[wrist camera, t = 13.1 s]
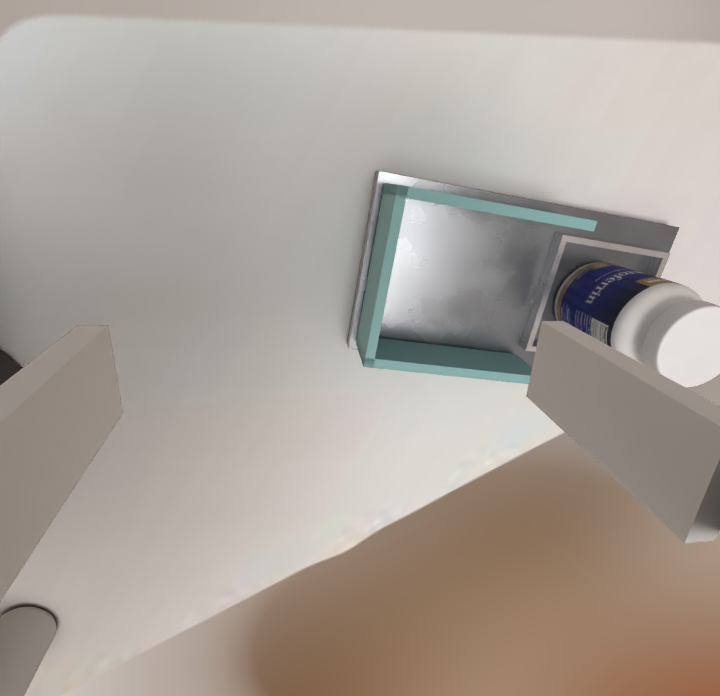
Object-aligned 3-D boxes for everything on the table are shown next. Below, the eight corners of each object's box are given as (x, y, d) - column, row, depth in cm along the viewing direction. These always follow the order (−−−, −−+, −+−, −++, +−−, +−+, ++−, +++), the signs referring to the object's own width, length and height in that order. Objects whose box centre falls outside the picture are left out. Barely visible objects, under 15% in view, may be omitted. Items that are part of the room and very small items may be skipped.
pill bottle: (614, 245, 31) (745, 276, 22) (632, 313, 33) (757, 366, 24) (541, 284, 32) (639, 330, 22) (563, 348, 34) (661, 414, 25)
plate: (346, 343, 33) (350, 354, 31) (376, 171, 29) (382, 171, 27) (607, 372, 37) (625, 384, 35) (666, 225, 32) (690, 229, 30)
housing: (356, 343, 31) (363, 366, 28) (384, 182, 27) (397, 184, 24) (513, 361, 33) (540, 385, 30) (560, 214, 30) (597, 221, 26)
